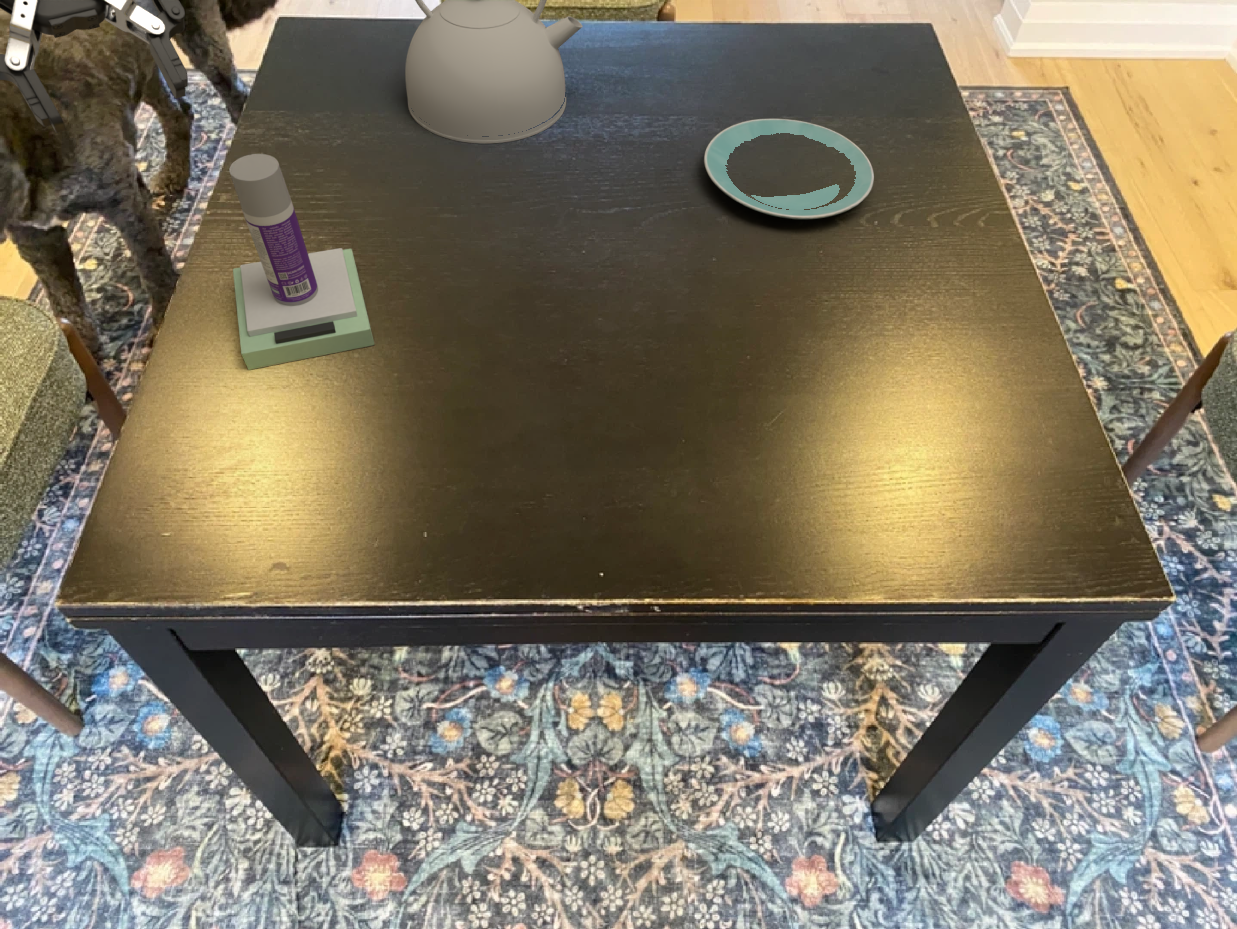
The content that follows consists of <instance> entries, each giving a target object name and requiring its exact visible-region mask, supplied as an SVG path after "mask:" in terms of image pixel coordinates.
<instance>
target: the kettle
mask: <svg viewBox="0 0 1237 929" xmlns="http://www.w3.org/2000/svg"><path fill="white" fill-rule="evenodd" d="M414 1H415V3H416V4H417V5H418V7H419V8H420V10H421V11H422V12H423V14H424V15H425V17H424V18H423V20H422V21H421V22H420V24H418V27H417V28H416V30H415V32H414V34H413V35H412V38H411V40H410V44H409V46H408V50H407V54H406V60H405V71H404V73H405V74H404V76H405V88H406V98H407V107H408V110H409V114H410V115H411V117H412V118H413V119H414V121H415V122H416V123H417V125H420V127H422V128H424V129H425V130H426V131H428V132H430V133H432V134H434V135H436V136H439V137H441V138H445V139H448V140H451V141H456V142H462V143H468V144H501V143H509V142H515V141H519V140H522V139H523V140H524V139H527V138H530V137H532V136H535V135H537V134H540V133H541V132H543V131H545V130H548V128H551V127H552V126H553V125H554V124H556V123H557V121H559V119H560V118H561V117H562V115H563V114H564V112H565V110H566V106H567V96H566V97H565V92H566V78H565V69H564V63H563V59H562V55H561V52H560V49H559V48H560V47H562V46H563V45H564V44H565V43H566V42H568V40H570V39H571V38H572V37H573V36H574V35H576V33H577V32H578V31H580V30H581V29H582V28H583V25H582V23H581V22H580V21H579V20H578V19H577V18H575V17H572V16H566V17H564V18H562V19H560V20H558V21H556V22H554V23H552V24H551V25H548V26H546V25H545V24H544V23H543V21H542V20H541V19H540V17H541V16H542V13H543V11H544V9H545V6H546V3H547V2H548V0H539V2H538V4H537V7H536V9H535V11H534V12H533V11H532V10H530V9H529V8H527V6H525V5H524V4H522V3H521V2H519V1H517V0H444V1H442V2H441V3H439V4H438V5H437V6H436V7H434V8H433V9H432V10H430V8H429V7H428V6H427V4H426V3H425V2H424V1H423V0H414ZM564 98H565V102H564ZM563 102H564V104H563ZM562 104H563V106H562V108H561V109H560V107H561V105H562ZM411 108H412V109H411ZM559 109H560V111H559V112H558V113H557V114H556V115H555V116H554V117H553V118H551V117H552V116H553V115H554V114H555V113H556V112H557V111H558V110H559ZM412 110H413V111H414V112H413V111H412ZM419 117H420V118H421V119H422V120H421V119H420V118H419ZM549 118H551V119H550V120H548V119H549ZM546 120H548V121H547V122H545V121H546ZM424 121H425V122H424ZM426 122H427V123H426ZM542 122H545V123H543V124H541V123H542ZM429 124H430V125H429ZM539 124H541V125H539ZM537 125H539V126H537ZM535 126H537V127H535ZM533 127H535V128H533ZM530 128H532V129H530ZM528 129H530V130H528ZM526 130H527V131H526ZM522 131H523V132H522ZM518 132H519V133H518ZM514 133H515V134H514ZM508 134H510V135H508ZM467 135H468V136H467ZM498 135H503V136H498ZM482 136H489V137H482Z"/></svg>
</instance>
